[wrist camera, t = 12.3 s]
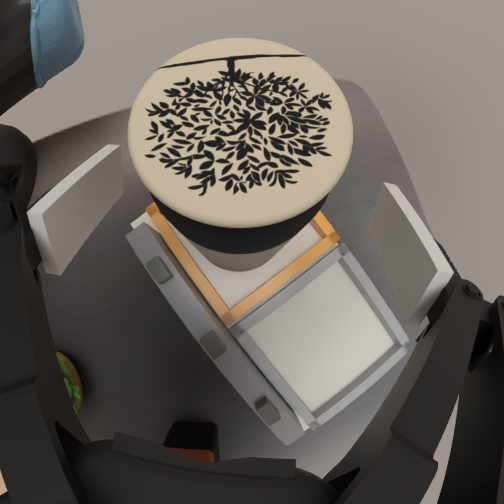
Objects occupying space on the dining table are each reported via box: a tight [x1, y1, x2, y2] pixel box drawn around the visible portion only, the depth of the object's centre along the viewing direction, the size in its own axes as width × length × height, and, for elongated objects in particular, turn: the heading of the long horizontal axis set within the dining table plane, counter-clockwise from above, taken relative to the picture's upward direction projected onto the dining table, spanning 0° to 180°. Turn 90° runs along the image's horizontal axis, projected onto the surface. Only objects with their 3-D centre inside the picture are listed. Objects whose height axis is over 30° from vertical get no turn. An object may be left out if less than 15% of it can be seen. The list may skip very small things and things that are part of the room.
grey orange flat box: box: [125, 202, 413, 446], centre depth 24 cm, size 25×15×7 cm, turn 37°
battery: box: [163, 422, 219, 462], centre depth 20 cm, size 4×7×10 cm, turn 1°
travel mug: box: [128, 38, 353, 272], centre depth 18 cm, size 8×8×18 cm
